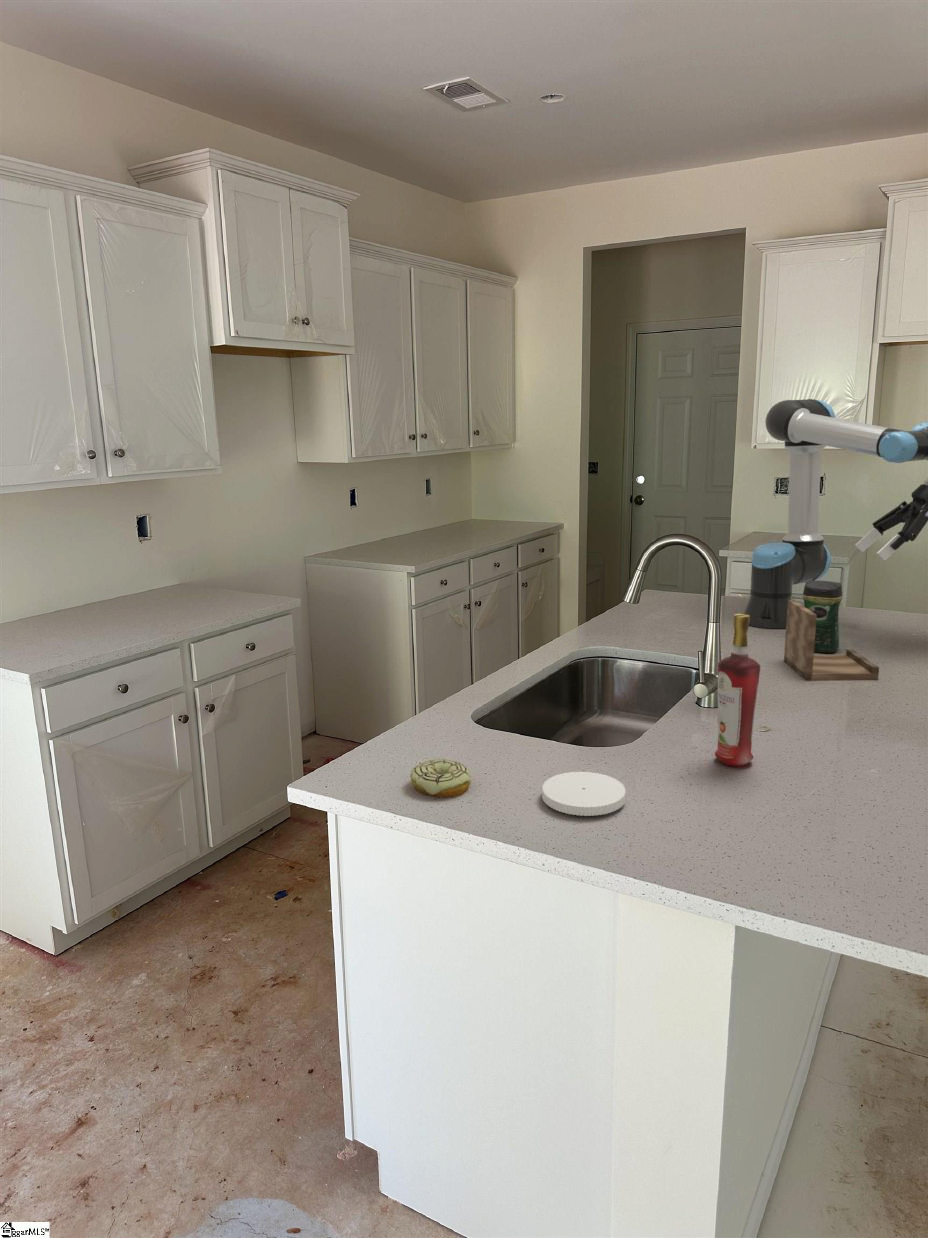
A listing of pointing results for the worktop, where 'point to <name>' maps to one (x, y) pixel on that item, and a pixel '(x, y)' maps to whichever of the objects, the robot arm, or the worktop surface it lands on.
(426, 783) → the decorated donut
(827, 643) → the coffee jar
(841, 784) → the worktop surface
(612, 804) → the plastic lid
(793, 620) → the wooden board stand
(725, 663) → the liquor
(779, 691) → the worktop surface
